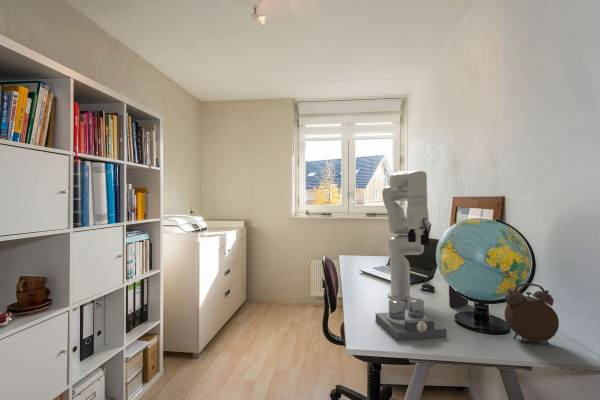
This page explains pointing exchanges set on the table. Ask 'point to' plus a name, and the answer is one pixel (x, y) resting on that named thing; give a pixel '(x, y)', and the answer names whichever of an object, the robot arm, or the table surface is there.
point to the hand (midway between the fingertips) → (418, 243)
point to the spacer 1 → (396, 309)
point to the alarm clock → (531, 315)
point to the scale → (411, 327)
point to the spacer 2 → (415, 308)
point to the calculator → (456, 299)
